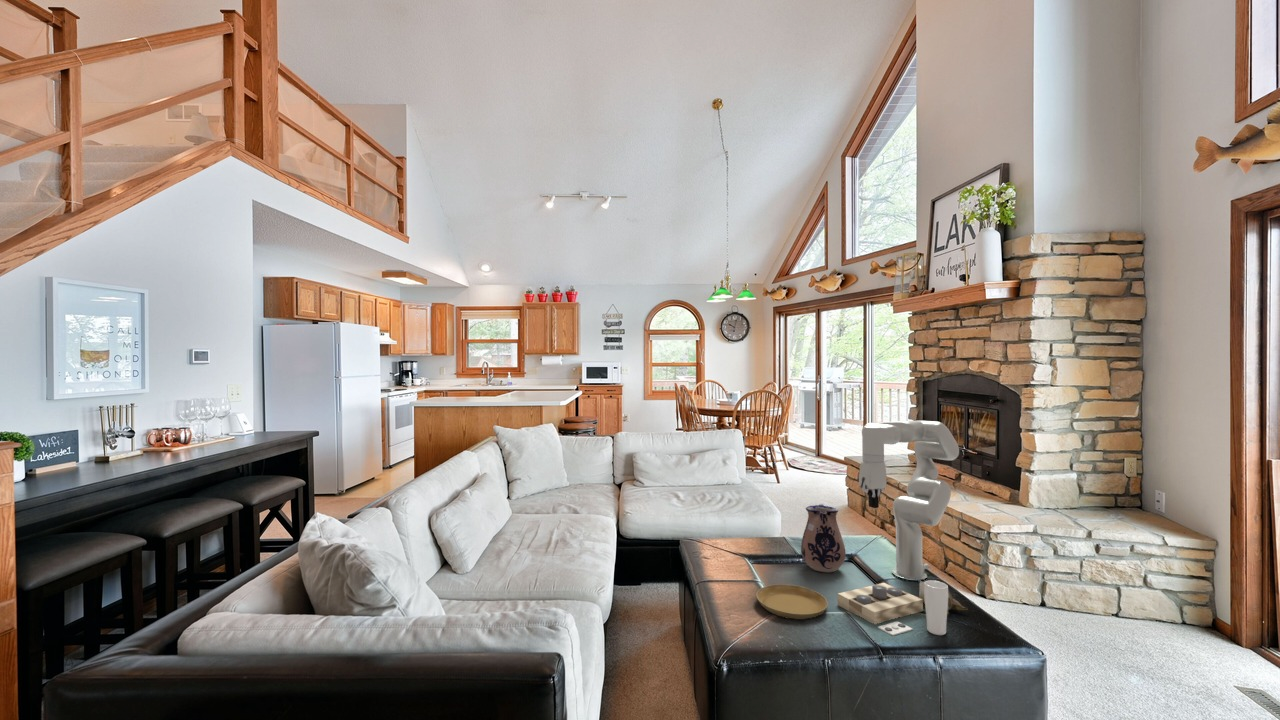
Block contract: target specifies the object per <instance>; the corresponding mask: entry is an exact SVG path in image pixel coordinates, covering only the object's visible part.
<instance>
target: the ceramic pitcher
mask: <svg viewBox="0 0 1280 720" xmlns="http://www.w3.org/2000/svg"><path fill="white" fill-rule="evenodd" d="M805 510H806V512H807V514H808V517H807V521H806V525H805V529H804V531H803V534H802V539H801V546H800V547H801V548H800V552H801V553H800V554H801V556H802V558H803V560H804V562H805V564H806V565H807V566H809V568H811V569H812V570H813V571H817V572H821V573H833V572H835V571H837V570H839V569H840V568H841V567H842V565H843V564H844V562H845V559H846V554H847V553H846V547H845V546H846V545H845V543H844V540H843V537H842V533H841V531H840V530H841V529H840V528H839V525H838V524H839V523H838V522H837V521H838V520H837V514H838V512H839V509H837V508H836V507H834V506H833V507H832V506H828V505H824V504H823V503H821V504H818V505H817V504H815V505H809V506H807V507H805Z"/></svg>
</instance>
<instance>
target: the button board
mask: <svg viewBox="0 0 1280 720" xmlns="http://www.w3.org/2000/svg"><path fill="white" fill-rule="evenodd" d="M874 585H880V586H884V587H886V588H887V600H883V601H879V600H877V599H875V598H873V597H872V586H874ZM874 585H873V584H872V585H869V586H863V587H860V588H856V589H852V590H848V591H847V590H846V591H843V592H838V593H837V606H838V607H840V608H843V609H844V610H846V611H848V612H850V613H851V614H854V615H856V614H857V615H856V616H858V615H859V616H860V618H861V617H862V619H863V618H864V620H865V619H866V620H865V621H867V620H868V622H869V621H870V623H871V622H872V623H871V624H873V623H874V624H873V625H878V624H881V622H882V623H884V621H885V622H889V621H892V620H891V619H893V620H895V618H896V619H899V618H898V617H900V618H903V617H906V616H909V615H910V614H911V615H914V614H917V613H921V612H923V611H924V604H923V599H921V598H919V596H916V595H913V594H911V593H909V592H907V591H906V590H905V591H904V590H902V596H898V597H895V596H892V595H890V594H888V588H890V587H894V588H896V587H895V586H893V585H890V584H888V583H886V582H881V583H877V584H874ZM857 595H866V596H869V597H871V604H867V605H863V604H861V603H859V602H857ZM859 616H858V617H859ZM888 620H889V621H888ZM877 623H878V624H877Z"/></svg>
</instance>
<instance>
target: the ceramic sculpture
mask: <svg viewBox="0 0 1280 720" xmlns="http://www.w3.org/2000/svg"><path fill="white" fill-rule="evenodd" d="M924 582H925V581H919V584H918V587H919V588H918V591H919V593H918V598H921V599H923V603H924V604H923V605H925V599H924ZM951 609H952V610H955V611H968V610H969V608H968V607H965V606H963V605H962V604H961V603H960V601H958V600H956V598H953V596H952V594H951V592H950V591H948V610H947V616H949V615H950V612H949V610H951Z"/></svg>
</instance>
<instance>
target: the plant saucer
mask: <svg viewBox="0 0 1280 720" xmlns="http://www.w3.org/2000/svg"><path fill="white" fill-rule="evenodd" d="M755 596H756V599H757V601H758V602H759V604H760V606H762V607H763V608H764V609H766V611H768V612H769V613H771V614H773V615H775V616H779V617H781V616H782V617H781V618H784V617H787V618H786V619H789V618H796V619H795V620H806V619H805V618H810V619H813V618H812V617H814V618H816V616H817V617H818V615H819V616H820V615H822V614H823V613H824V612H825V611H826V610H827V608H828V605H829V603H828V600H827V598H826V597H825V596H823V595H822V593H819V592H818V591H816V590H813V589H811V588H807V587H804V586H801V585H794V584H784V583H781V584H780V583H779V584H778V583H777V584H770V585H766V586H763V587H761V588H760V589H758V591H756V593H755ZM803 618H804V619H803Z"/></svg>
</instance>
